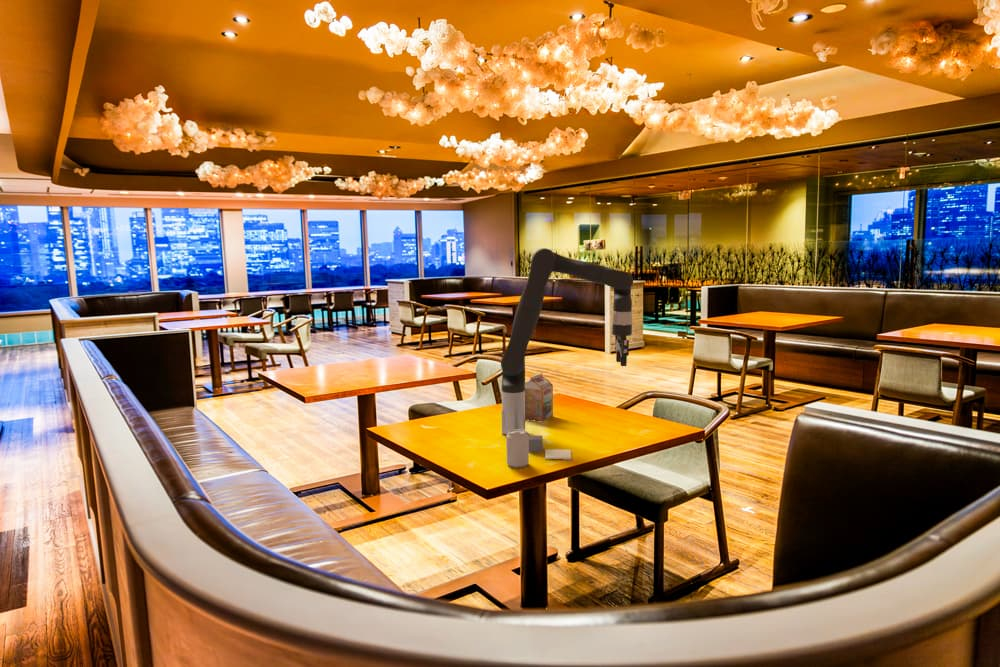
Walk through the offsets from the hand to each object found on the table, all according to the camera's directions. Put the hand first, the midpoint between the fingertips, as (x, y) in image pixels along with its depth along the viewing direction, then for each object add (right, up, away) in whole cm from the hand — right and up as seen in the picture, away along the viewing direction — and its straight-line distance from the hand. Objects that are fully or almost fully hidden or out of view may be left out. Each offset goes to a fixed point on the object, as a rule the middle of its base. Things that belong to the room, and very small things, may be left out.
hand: (621, 364), depth 252 cm
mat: (-27, -32, -22) cm, 47 cm away
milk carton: (-31, -25, +30) cm, 50 cm away
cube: (-34, -31, -16) cm, 49 cm away
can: (-41, -33, -31) cm, 62 cm away
